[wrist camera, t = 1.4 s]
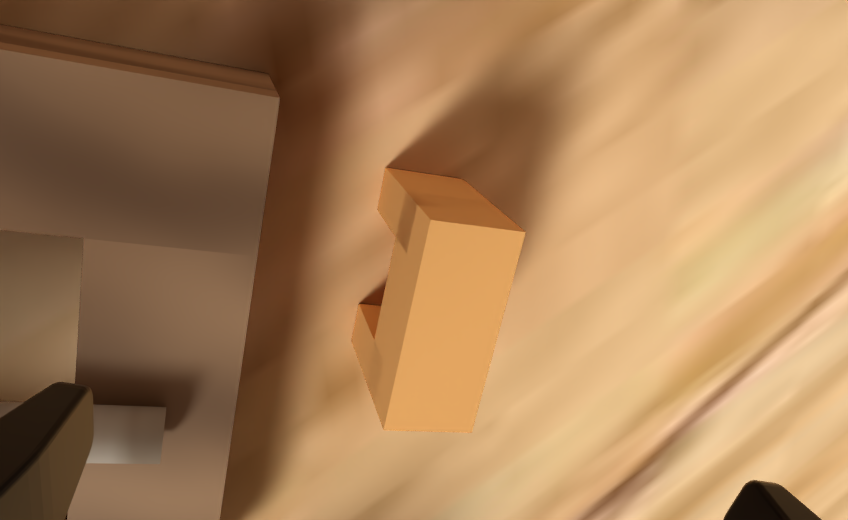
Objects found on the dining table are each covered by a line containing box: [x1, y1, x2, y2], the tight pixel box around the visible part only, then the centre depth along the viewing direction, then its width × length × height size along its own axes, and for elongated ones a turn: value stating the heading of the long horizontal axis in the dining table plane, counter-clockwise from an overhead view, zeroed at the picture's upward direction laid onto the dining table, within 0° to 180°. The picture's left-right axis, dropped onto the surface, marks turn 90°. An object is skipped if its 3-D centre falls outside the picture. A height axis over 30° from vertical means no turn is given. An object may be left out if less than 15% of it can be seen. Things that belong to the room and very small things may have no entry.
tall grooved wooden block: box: [352, 168, 526, 433], centre depth 24 cm, size 7×3×6 cm, turn 168°
